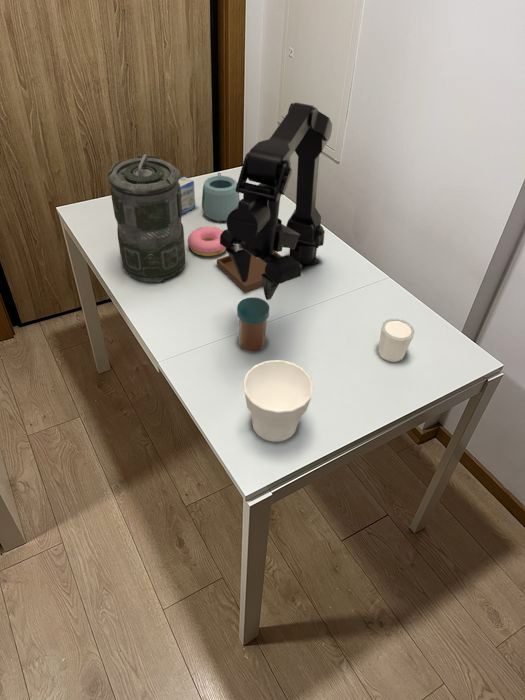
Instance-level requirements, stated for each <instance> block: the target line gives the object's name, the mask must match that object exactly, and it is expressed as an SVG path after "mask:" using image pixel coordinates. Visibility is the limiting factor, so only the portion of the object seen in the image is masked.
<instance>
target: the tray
mask: <svg viewBox="0 0 525 700" xmlns="http://www.w3.org/2000/svg"><path fill="white" fill-rule="evenodd" d="M274 255H276V256H277V257H279V258H280V257H283V255H281V254H280V253H279V252H276V251H275V252H274ZM266 265H267V263H266V262H264V261H263V260H261V259H257V258H256V257H254V256H253V255H252V256H251V260H250V267H249V275H248V279H247V281H246V282H242V280H241V278H240V276H239V274H238V272H237V270H236V268H235V265H234V263H233V261H232V259H231V258H230V256H229V255H226V256H222V257H221V258H217V259H216V267H217V268H218V269H219V270H220V271H222V273H223V274H224V275H225V276H227V277H228V279H230V280H231V281H232V282H233V283H234V284H235V285H236V286H237V287H238V288H239V289H240V290H241V291H242V292H243V293H244V294H246V293H249V292H252V291H254V290H256V289H259V288H261V287H263V282H262V276H261V274H264V273H265V266H266Z"/></svg>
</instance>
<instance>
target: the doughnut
mask: <svg viewBox="0 0 525 700" xmlns="http://www.w3.org/2000/svg"><path fill="white" fill-rule="evenodd" d="M223 231H224V230H223V229H221V228H219V227H216V226H201V227H198V228H195V229H194V230H192V231H191V233H189V235H188V236H187V244H188V246H189V248H190V250H191V251H192V252H193V253H195V254H196V255H199V256H202V257H214V256H218V255H221V254H223V253H224V252H226V247H224V246H223V245H221V244H220V235H221V234H222V232H223Z"/></svg>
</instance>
